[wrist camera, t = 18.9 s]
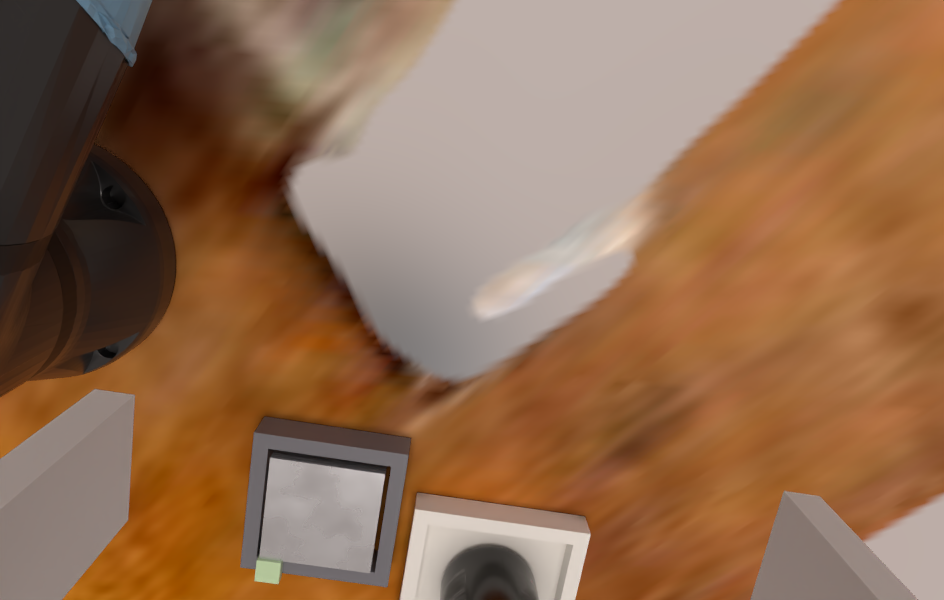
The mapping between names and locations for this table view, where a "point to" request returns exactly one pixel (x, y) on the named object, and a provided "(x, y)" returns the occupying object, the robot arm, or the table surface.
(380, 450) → the grey square framed panel
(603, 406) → the table surface
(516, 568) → the supplement bottle
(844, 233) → the table surface
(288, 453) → the grey square tile
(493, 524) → the dish
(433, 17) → the table surface
